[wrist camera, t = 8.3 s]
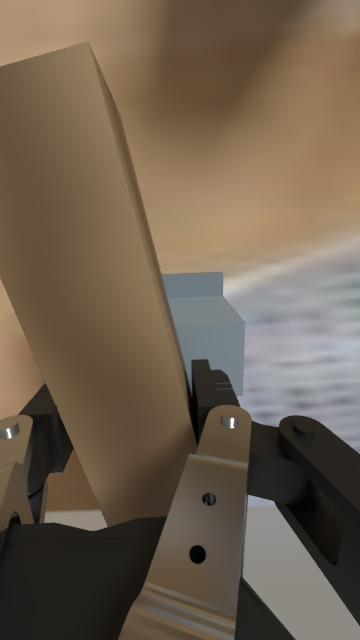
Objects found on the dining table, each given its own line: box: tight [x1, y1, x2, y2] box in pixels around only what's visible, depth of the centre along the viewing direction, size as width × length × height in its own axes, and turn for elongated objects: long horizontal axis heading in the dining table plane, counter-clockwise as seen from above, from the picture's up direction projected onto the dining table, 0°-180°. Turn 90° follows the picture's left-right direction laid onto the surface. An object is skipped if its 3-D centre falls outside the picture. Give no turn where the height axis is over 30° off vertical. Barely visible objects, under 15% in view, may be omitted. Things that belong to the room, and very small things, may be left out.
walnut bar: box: [0, 42, 198, 527], centre depth 11 cm, size 4×20×4 cm, turn 13°
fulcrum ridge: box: [43, 272, 245, 396], centre depth 17 cm, size 10×7×7 cm
